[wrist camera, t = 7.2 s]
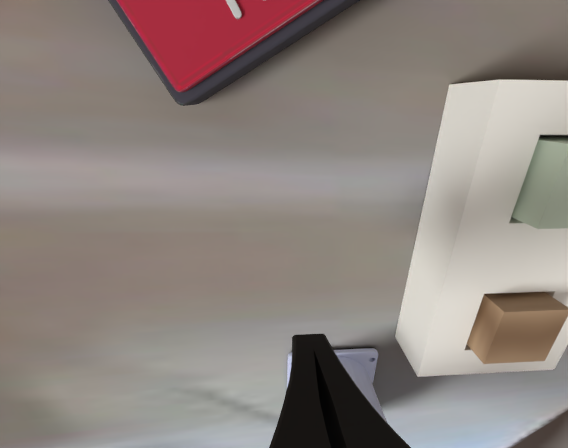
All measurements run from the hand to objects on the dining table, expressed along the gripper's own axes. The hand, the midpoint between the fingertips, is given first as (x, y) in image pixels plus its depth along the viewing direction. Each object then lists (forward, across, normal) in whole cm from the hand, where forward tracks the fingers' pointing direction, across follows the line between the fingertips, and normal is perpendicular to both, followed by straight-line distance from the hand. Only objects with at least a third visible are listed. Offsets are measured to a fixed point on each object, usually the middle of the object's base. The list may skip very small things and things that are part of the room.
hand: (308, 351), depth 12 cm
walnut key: (+7, -15, +4) cm, 17 cm away
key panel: (+9, -15, -1) cm, 18 cm away
